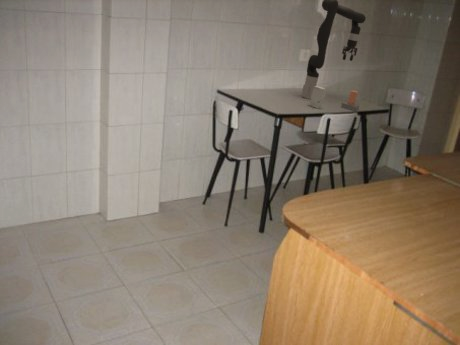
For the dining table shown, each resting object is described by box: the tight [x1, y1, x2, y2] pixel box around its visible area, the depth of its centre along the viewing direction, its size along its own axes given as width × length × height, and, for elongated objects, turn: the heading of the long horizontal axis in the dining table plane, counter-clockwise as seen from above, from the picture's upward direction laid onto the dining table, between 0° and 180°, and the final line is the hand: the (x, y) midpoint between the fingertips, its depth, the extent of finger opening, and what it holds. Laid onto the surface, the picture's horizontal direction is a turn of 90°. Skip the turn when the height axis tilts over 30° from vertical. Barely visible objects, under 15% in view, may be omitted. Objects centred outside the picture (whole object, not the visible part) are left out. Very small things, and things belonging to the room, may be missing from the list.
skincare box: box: [308, 85, 328, 109], centre depth 343 cm, size 8×6×15 cm
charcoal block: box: [340, 100, 360, 112], centre depth 361 cm, size 11×11×4 cm
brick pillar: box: [347, 90, 359, 105], centre depth 358 cm, size 5×5×10 cm
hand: (347, 60), depth 375 cm, fingers open, 8 cm apart
